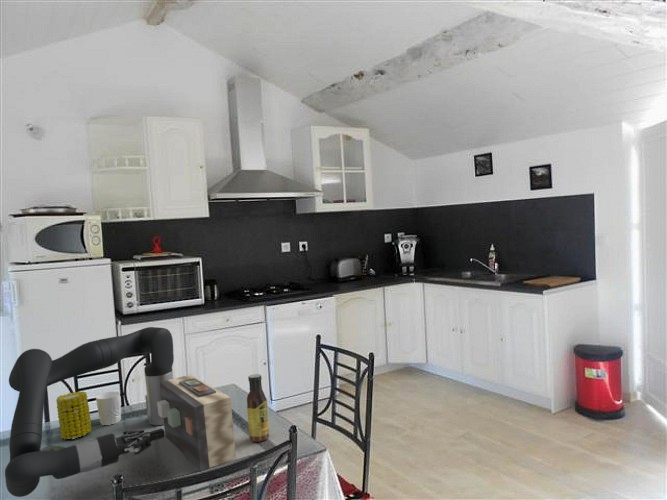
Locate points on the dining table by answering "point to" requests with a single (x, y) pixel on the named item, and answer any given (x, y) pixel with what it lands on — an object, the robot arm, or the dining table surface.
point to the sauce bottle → (257, 410)
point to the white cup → (109, 407)
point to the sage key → (174, 417)
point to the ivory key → (163, 408)
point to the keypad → (200, 421)
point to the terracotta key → (189, 425)
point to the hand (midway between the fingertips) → (163, 432)
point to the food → (73, 415)
